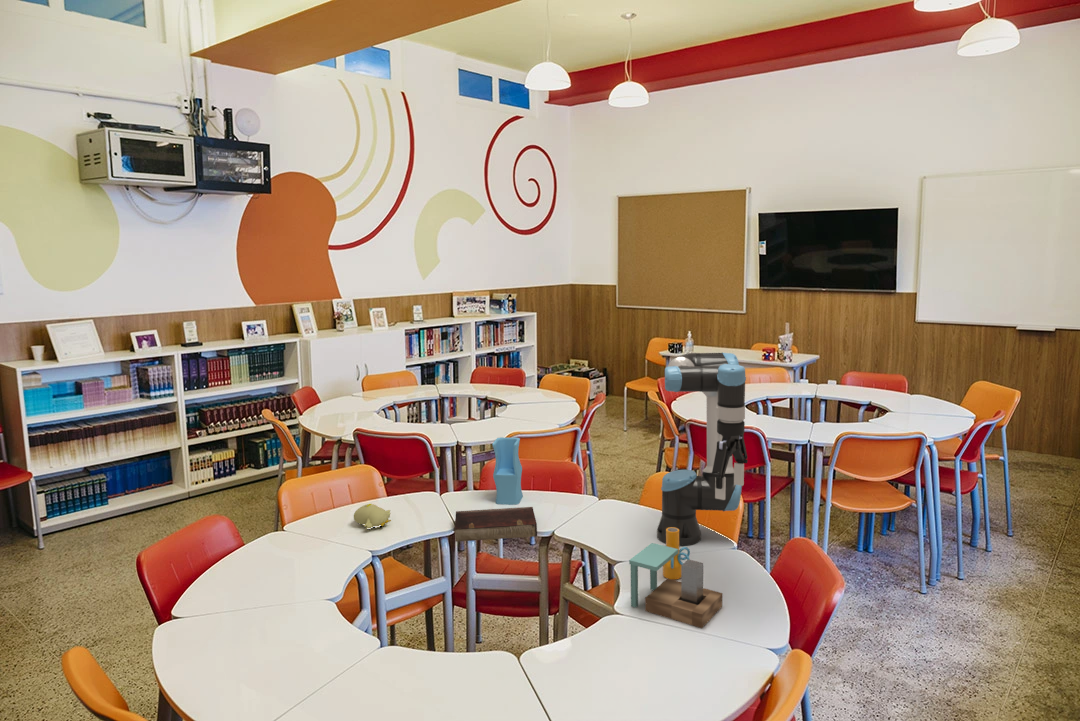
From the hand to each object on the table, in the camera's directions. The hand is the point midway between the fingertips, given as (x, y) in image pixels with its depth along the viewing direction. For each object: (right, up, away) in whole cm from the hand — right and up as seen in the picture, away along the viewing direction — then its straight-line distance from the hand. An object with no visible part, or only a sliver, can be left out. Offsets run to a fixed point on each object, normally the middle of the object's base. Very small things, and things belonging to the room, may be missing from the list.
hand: (729, 491), depth 208 cm
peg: (-12, -33, -5) cm, 35 cm away
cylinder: (-13, -29, +17) cm, 36 cm away
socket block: (-14, -32, -4) cm, 35 cm away
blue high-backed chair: (-67, -19, +87) cm, 111 cm away
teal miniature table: (-22, -32, +2) cm, 38 cm away
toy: (-118, -25, +65) cm, 137 cm away
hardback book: (-71, -25, +58) cm, 95 cm away
